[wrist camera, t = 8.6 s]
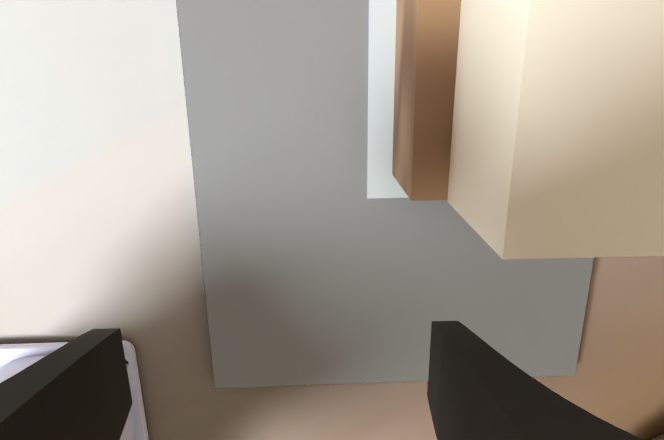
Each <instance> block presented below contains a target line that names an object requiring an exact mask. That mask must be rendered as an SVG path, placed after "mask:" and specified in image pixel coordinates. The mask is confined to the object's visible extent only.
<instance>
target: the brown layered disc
mask: <svg viewBox="0 0 664 440" xmlns="http://www.w3.org/2000/svg"><path fill="white" fill-rule="evenodd" d="M650 440H664V434H662V435H659V436H657V437H655V438H652V439H650Z"/></svg>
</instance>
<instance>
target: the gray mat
mask: <svg viewBox="0 0 664 440" xmlns="http://www.w3.org/2000/svg"><path fill="white" fill-rule="evenodd" d="M396 2H397V0H176V6H177V16H178V26H179V36H180V46H181V56H182V66H183V76H184V86H185V96H186V106H187V116H188V126H189V136H190V146H191V156H192V166H193V176H194V186H195V196H196V206H197V216H198V226H199V236H200V246H201V256H202V266H203V276H204V286H205V296H206V306H207V316H208V326H209V336H210V346H211V356H212V366H213V376H214V386H215V389H223V388H251V387H278V386H306V385H333V384H361V383H388V382H416V381H428V375H429V358H430V341H431V324H432V321H459V322H460V323H462V324H463V325H464V326H466V327H467V328H468V329H470V330H471V331H472V332H473V333H475V334H476V335H477V336H478V337H480V338H481V339H482V340H483V341H485V342H486V343H487V344H488V345H490V346H491V347H492V348H493V349H495V350H496V351H497V352H499V353H500V354H501V355H502V356H504V357H505V358H506V359H508V360H509V361H510V362H512V363H513V364H514V365H516V366H517V367H518V368H520V369H521V370H523V371H524V372H525V373H527V374H528V375H529V376H531V377H553V376H575V373H576V367H577V360H578V354H579V348H580V342H581V335H582V329H583V323H584V317H585V310H586V304H587V298H588V292H589V285H590V279H591V273H592V267H593V260H594V258H545V259H502V258H501V257H500V256H499V255H498V254H497V253H496V252H495V251H494V250H493V249H492V248H491V247H490V246H489V245H488V244H487V243H486V242H485V241H484V240H483V239H482V237H481V236H480V235H479V234H478V233H477V232H476V231H475V230H474V229H473V228H472V227H471V226H470V225H469V224H468V223H467V222H466V221H465V220H464V219H463V218H462V217H461V215H460V214H459V213H458V212H457V211H456V210H455V209H454V208H453V207H452V206H451V205H450V204H449V203H448V202H447V200H431V201H411V200H410V199H409V197H408V196H407V194H406V193H405V192H404V190H403V189H402V187H401V186H400V185H399V183H398V182H397V180H396V179H395V177H394V176H393V175H392V162H393V122H394V82H395V42H396Z"/></svg>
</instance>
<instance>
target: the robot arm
mask: <svg viewBox="0 0 664 440" xmlns="http://www.w3.org/2000/svg"><path fill="white" fill-rule="evenodd" d="M126 360H127V361H128V364H126ZM427 396H428V401H429V405H430V410H431V415H432V420H433V424H434V428H435V433H436V436H437V439H438V440H643V439H641V438H638V437H636V436H634V435H632V434H630V433H628V432H626V431H624V430H622V429H619V428H617V427H615V426H613V425H611V424H609V423H608V422H606V421H604V420H602V419H600V418H598V417H596V416H594V415H592V414H591V413H589V412H587V411H585V410H584V409H582V408H580V407H578V406H577V405H575V404H573V403H571V402H570V401H568V400H566V399H565V398H563V397H561V396H560V395H558V394H556V393H555V392H553V391H552V390H550V389H549V388H547V387H546V386H544V385H543V384H541V383H540V382H538V381H537V380H535V379H534V378H532V377H531V376H529V375H528V374H527V373H525V372H524V371H523V370H521V369H520V368H518V367H517V366H516V365H514V364H513V363H512V362H510V361H509V360H508V359H506V358H505V357H504V356H502V355H501V354H500V353H499V352H497V351H496V350H495V349H493V348H492V347H491V346H490V345H488V344H487V343H486V342H485V341H483V340H482V339H481V338H480V337H478V336H477V335H476V334H475V333H473V332H472V331H471V330H470V329H468V328H467V327H466V326H464V325H463V324H462V323H460V322H459V321H432V324H431V341H430V358H429V375H428V392H427ZM0 440H149V438H148V431H147V425H146V418H145V412H144V405H143V399H142V392H141V386H140V379H139V373H138V366H137V360H136V353H135V348H134V346H133V345H132V344H131V343H130V342H128V341H124V340H122V337H121V331H120V329H93V330H91V331H89V332H86V333H84V334H83V335H81V336H79V337H77V338H75V339H74V340H72V341H70V342H55V343H25V344H0Z"/></svg>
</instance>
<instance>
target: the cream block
mask: <svg viewBox="0 0 664 440" xmlns="http://www.w3.org/2000/svg"><path fill="white" fill-rule="evenodd" d="M447 202H448V203H449V204H450V205H451V206H452V207H453V208H454V209H455V210H456V211H457V212H458V213H459V214H460V215H461V217H462V218H463V219H464V220H465V221H466V222H467V223H468V224H469V225H470V226H471V227H472V228H473V229H474V230H475V231H476V232H477V233H478V234H479V235H480V236H481V237H482V239H483V240H484V241H485V242H486V243H487V244H488V245H489V246H490V247H491V248H492V249H493V250H494V251H495V252H496V253H497V254H498V255H499V256H500V257H501V258H502V259H545V258H596V257H646V256H664V0H461V11H460V25H459V40H458V54H457V68H456V83H455V97H454V112H453V126H452V140H451V155H450V169H449V183H448V198H447Z"/></svg>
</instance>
